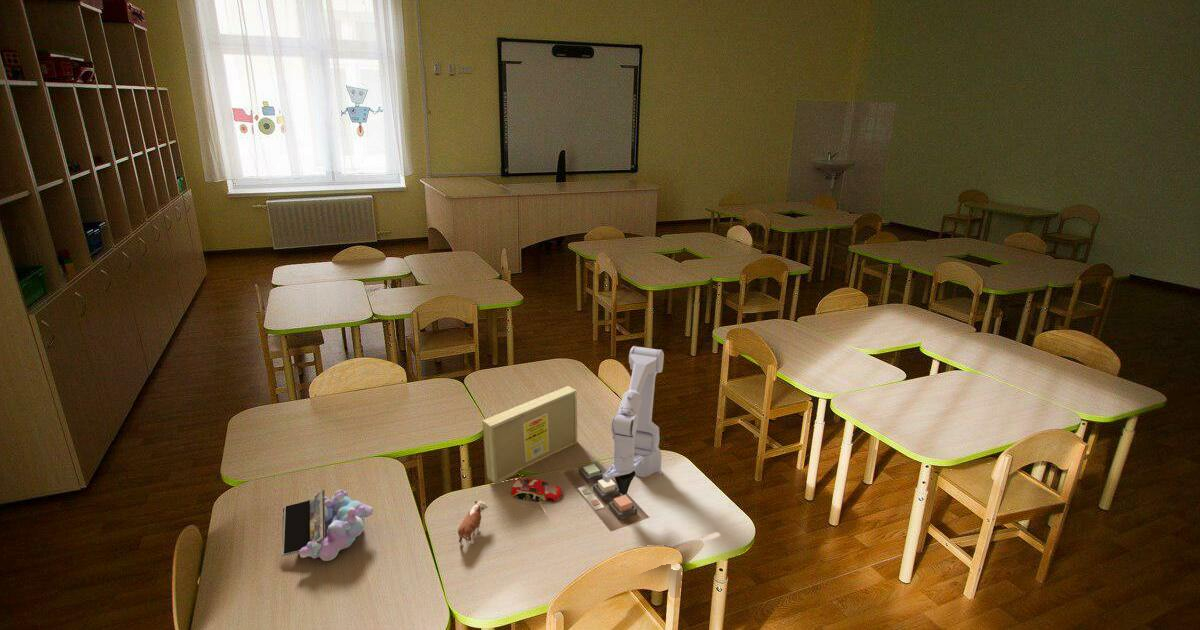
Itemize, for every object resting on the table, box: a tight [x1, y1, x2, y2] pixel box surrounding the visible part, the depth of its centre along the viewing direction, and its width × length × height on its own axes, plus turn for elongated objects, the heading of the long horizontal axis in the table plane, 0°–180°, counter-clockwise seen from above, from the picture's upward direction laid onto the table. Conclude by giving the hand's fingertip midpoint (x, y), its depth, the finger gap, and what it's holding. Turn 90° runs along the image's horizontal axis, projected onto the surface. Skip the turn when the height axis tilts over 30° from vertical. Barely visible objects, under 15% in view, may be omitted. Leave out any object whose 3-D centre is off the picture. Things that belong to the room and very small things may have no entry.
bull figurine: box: [457, 500, 489, 547], centre depth 179 cm, size 4×13×8 cm, turn 161°
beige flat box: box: [482, 385, 579, 485], centre depth 210 cm, size 35×5×22 cm, turn 132°
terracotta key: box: [614, 495, 632, 513], centre depth 188 cm, size 4×4×2 cm
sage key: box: [583, 463, 600, 477], centre depth 204 cm, size 4×4×2 cm
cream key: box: [598, 479, 615, 494], centre depth 196 cm, size 4×4×2 cm
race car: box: [510, 477, 564, 503], centre depth 196 cm, size 16×7×5 cm, turn 75°
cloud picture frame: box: [280, 487, 374, 562], centre depth 174 cm, size 20×22×18 cm
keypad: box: [562, 461, 650, 532], centre depth 196 cm, size 13×32×3 cm, turn 28°
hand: (623, 492), depth 186 cm, fingers closed
